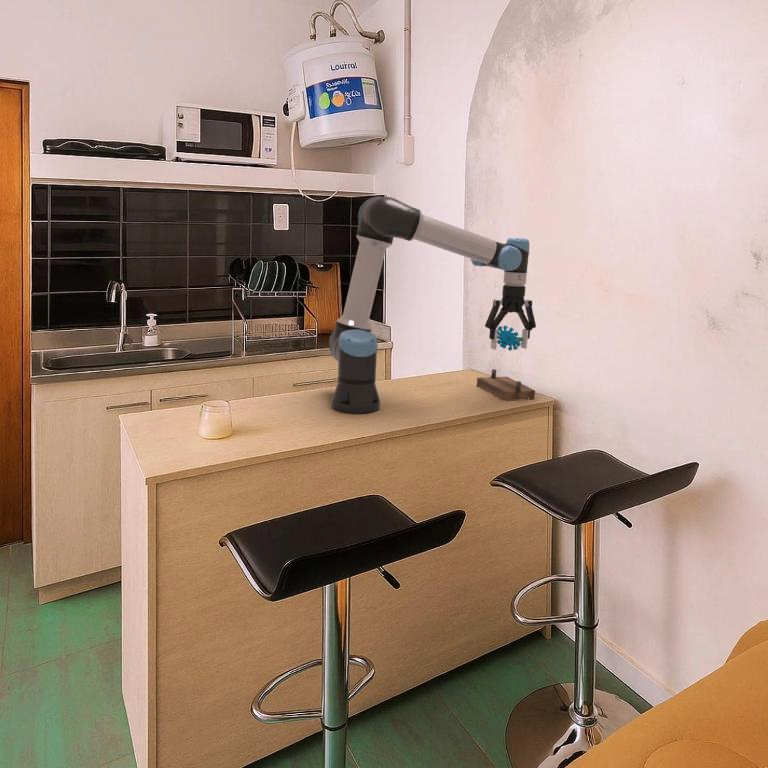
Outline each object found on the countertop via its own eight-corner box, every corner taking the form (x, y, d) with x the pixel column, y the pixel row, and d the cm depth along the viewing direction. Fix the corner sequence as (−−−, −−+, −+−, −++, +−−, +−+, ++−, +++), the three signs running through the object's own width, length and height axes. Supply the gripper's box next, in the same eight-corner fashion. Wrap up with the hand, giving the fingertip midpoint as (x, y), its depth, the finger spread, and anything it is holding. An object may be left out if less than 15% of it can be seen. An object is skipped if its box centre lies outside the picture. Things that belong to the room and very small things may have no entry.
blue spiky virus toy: (498, 346, 227) (493, 322, 232) (490, 355, 231) (486, 332, 236) (527, 350, 230) (521, 326, 235) (518, 359, 235) (513, 336, 240)
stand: (502, 400, 225) (504, 383, 224) (476, 385, 244) (477, 369, 242) (534, 399, 229) (536, 382, 228) (506, 384, 247) (507, 368, 246)
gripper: (488, 285, 220) (482, 351, 225) (550, 286, 227) (544, 349, 233) (478, 283, 227) (473, 346, 232) (539, 283, 234) (532, 345, 240)
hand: (508, 348), depth 232 cm, fingers closed on blue spiky virus toy, 11 cm apart
